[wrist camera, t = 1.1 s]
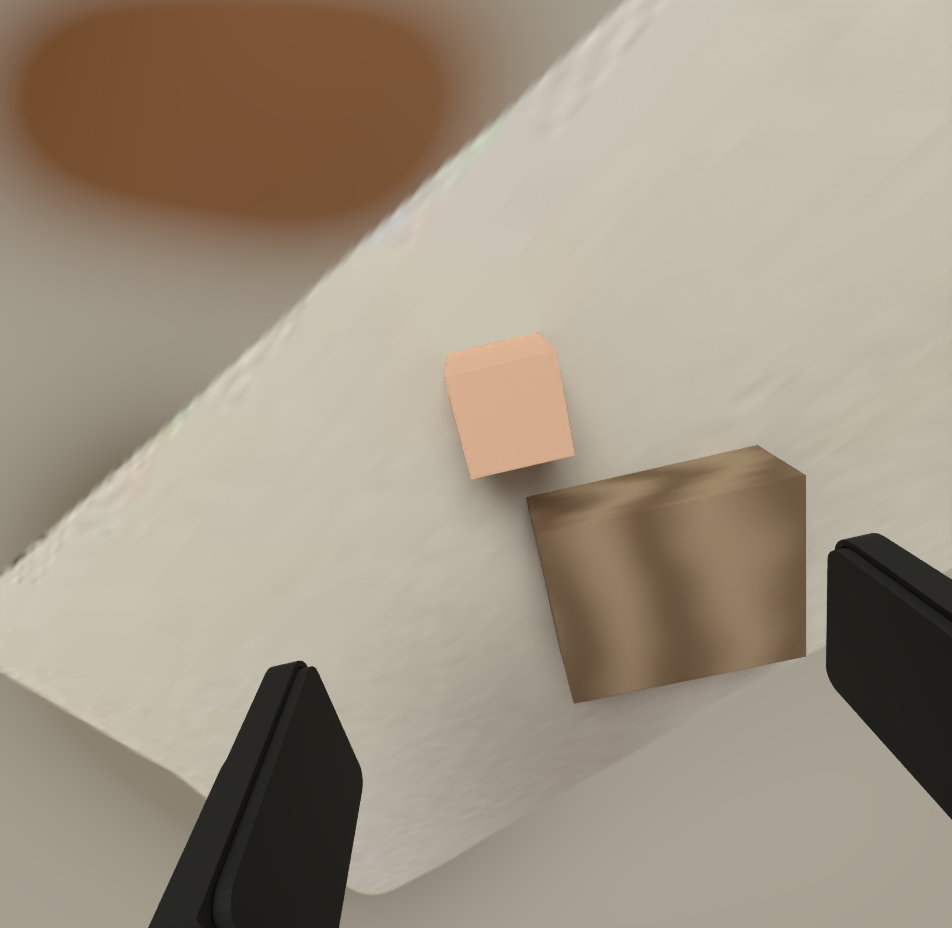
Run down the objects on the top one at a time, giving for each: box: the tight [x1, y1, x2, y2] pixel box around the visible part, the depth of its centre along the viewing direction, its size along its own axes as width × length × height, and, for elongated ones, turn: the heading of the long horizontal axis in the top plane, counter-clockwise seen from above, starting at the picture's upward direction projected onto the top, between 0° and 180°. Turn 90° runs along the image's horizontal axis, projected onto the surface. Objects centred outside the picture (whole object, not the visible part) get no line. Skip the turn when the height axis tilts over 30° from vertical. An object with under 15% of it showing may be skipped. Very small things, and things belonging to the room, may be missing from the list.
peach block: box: [444, 332, 575, 479], centre depth 27 cm, size 5×5×6 cm
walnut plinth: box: [526, 445, 806, 704], centre depth 32 cm, size 14×12×5 cm
